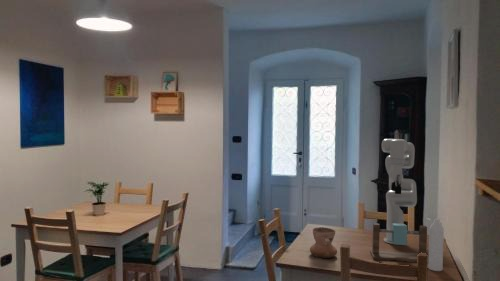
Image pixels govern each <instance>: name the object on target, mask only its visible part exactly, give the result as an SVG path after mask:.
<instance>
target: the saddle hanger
mask: <svg viewBox="0 0 500 281" xmlns="http://www.w3.org/2000/svg"><path fill="white" fill-rule="evenodd" d="M392 230H394V233H392V242H394V244H393V245H397V246H399V245H400V246H408V245H407V244H408V234H407V231H408V225H406V224H405V223H403V224H396V223H392Z"/></svg>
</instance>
